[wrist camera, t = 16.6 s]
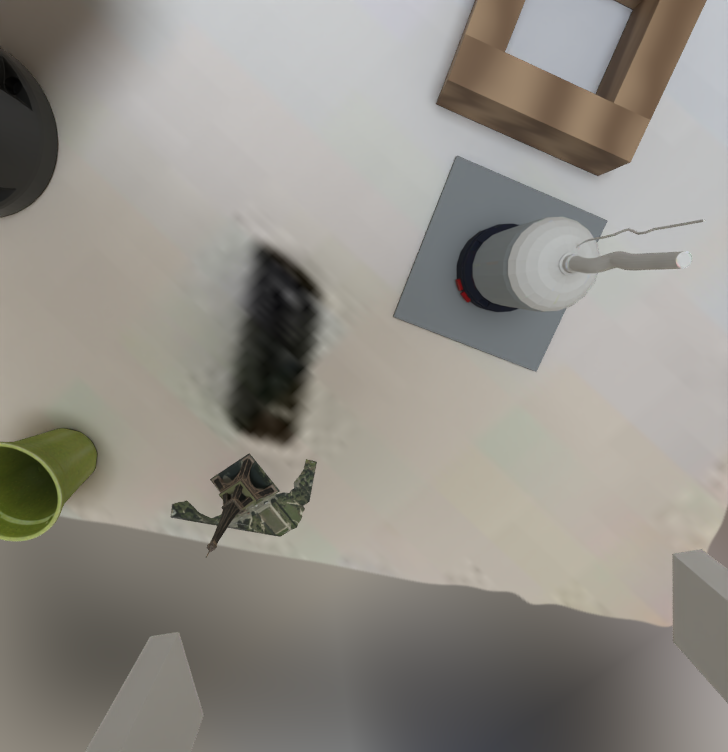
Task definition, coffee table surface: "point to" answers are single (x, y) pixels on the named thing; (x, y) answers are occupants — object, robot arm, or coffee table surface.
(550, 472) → the coffee table surface
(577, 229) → the humidifier
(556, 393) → the coffee table surface
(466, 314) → the mat
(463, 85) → the dock
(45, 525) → the plant pot
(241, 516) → the eiffel tower figurine
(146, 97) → the coffee table surface
